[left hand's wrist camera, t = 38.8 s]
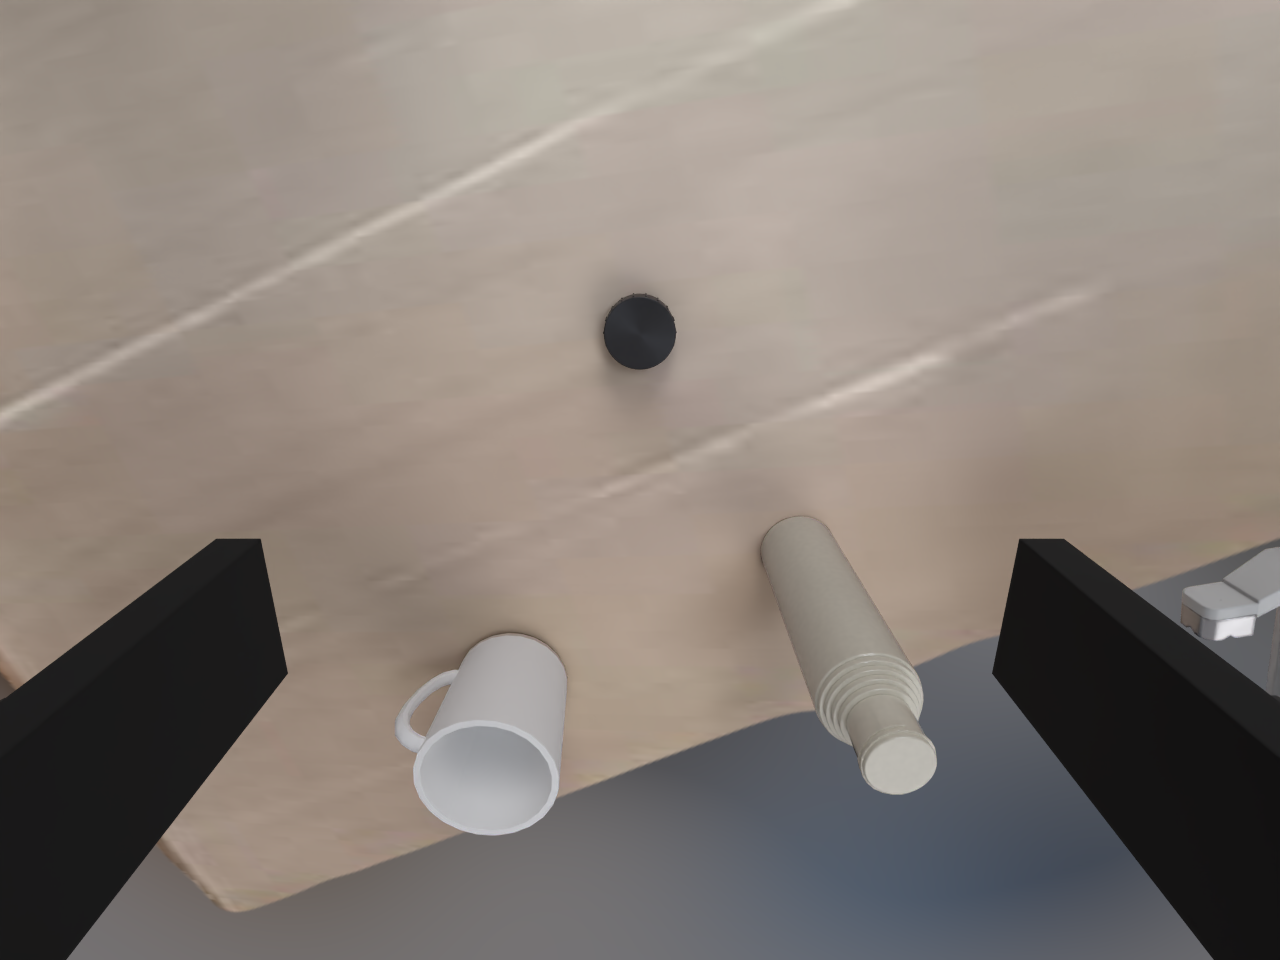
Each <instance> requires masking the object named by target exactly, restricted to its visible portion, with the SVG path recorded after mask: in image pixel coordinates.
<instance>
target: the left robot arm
mask: <svg viewBox="0 0 1280 960" xmlns="http://www.w3.org/2000/svg"><path fill="white" fill-rule="evenodd" d="M287 674H288V672H287V667H286V662H285V657H284V652H283V647H282V642H281V637H280V632H279V627H278V622H277V617H276V612H275V608H274V603H273V598H272V593H271V588H270V583H269V578H268V573H267V568H266V563H265V558H264V553H263V548H262V543H261V539H215V540H214V541H213V542H211V543H210V544H209V545H207V546H206V547H205V548H203V549H202V550H201V551H200V552H198V553H197V554H196V555H194V556H193V557H192V558H190V559H189V560H188V561H186V562H185V563H184V564H182V565H181V566H180V567H178V568H177V569H176V570H174V571H173V572H172V573H170V574H169V575H168V576H166V577H165V578H164V579H162V580H161V581H160V582H158V583H157V584H156V585H155V586H153V587H152V588H151V589H149V590H148V591H147V592H145V593H144V594H143V595H141V596H140V597H139V598H137V599H136V600H135V601H133V602H132V603H131V604H129V605H128V606H127V607H125V608H124V609H123V610H121V611H120V612H119V613H117V614H116V615H115V616H114V617H112V618H111V619H110V620H108V621H107V622H106V623H104V624H103V625H102V626H100V627H99V628H98V629H96V630H95V631H94V632H92V633H91V634H90V635H88V636H87V637H86V638H84V639H83V640H82V641H80V642H79V643H78V644H76V645H75V646H74V647H72V648H71V649H70V650H69V651H67V652H66V653H65V654H63V655H62V656H61V657H59V658H58V659H57V660H55V661H54V662H53V663H51V664H50V665H49V666H47V667H46V668H45V669H43V670H42V671H41V672H39V673H38V674H37V675H35V676H34V677H33V678H31V679H30V680H29V681H28V682H26V683H25V684H24V685H22V686H21V687H20V688H18V689H17V690H16V691H14V692H13V693H12V694H10V695H9V696H8V697H6V698H4V699H2V700H0V960H66V959H67V958H68V957H69V955H70V954H71V953H72V952H73V950H74V949H75V948H76V946H77V945H78V944H79V942H80V941H81V940H82V939H83V937H84V936H85V935H86V933H87V932H88V931H89V930H90V928H91V927H92V926H93V924H94V923H95V922H96V921H97V919H98V918H99V917H100V915H101V914H102V913H103V912H104V910H105V909H106V908H107V906H108V905H109V904H110V903H111V901H112V900H113V899H114V897H115V896H116V895H117V893H118V892H119V891H120V890H121V888H122V887H123V886H124V884H125V883H126V882H127V881H128V879H129V878H130V877H131V875H132V874H133V873H134V872H135V870H136V869H137V868H138V866H139V865H140V864H141V862H142V861H143V860H144V859H145V857H146V856H147V855H148V853H149V852H150V851H151V850H152V848H153V847H154V846H155V844H156V843H157V842H158V841H159V839H160V838H161V837H162V835H163V834H164V833H165V831H166V830H167V829H168V828H169V826H170V825H171V824H172V822H173V821H174V820H175V819H176V817H177V816H178V815H179V813H180V812H181V811H182V810H183V808H184V807H185V806H186V804H187V803H188V802H189V800H190V799H191V798H192V797H193V795H194V794H195V793H196V791H197V790H198V789H199V788H200V786H201V785H202V784H203V782H204V781H205V780H206V779H207V777H208V776H209V775H210V773H211V772H212V771H213V769H214V768H215V767H216V766H217V764H218V763H219V762H220V760H221V759H222V758H223V757H224V755H225V754H226V753H227V751H228V750H229V749H230V748H231V746H232V745H233V744H234V742H235V741H236V740H237V738H238V737H239V736H240V735H241V733H242V732H243V731H244V729H245V728H246V727H247V726H248V724H249V723H250V722H251V720H252V719H253V718H254V717H255V715H256V714H257V713H258V711H259V710H260V709H261V707H262V706H263V705H264V704H265V702H266V701H267V700H268V698H269V697H270V696H271V695H272V693H273V692H274V691H275V689H276V688H277V687H278V686H279V684H280V683H281V682H282V680H283V679H284V678H285V676H286V675H287ZM992 674H993V675H994V676H995V678H996V679H997V680H998V682H999V683H1000V684H1001V686H1002V687H1003V688H1004V689H1005V691H1006V692H1007V693H1008V695H1009V696H1010V697H1011V698H1012V700H1013V701H1014V702H1015V704H1016V705H1017V706H1018V707H1019V709H1020V710H1021V711H1022V713H1023V714H1024V715H1025V717H1026V718H1027V719H1028V720H1029V722H1030V723H1031V724H1032V725H1033V727H1034V728H1035V729H1036V731H1037V732H1038V733H1039V734H1040V736H1041V737H1042V738H1043V740H1044V741H1045V742H1046V744H1047V745H1048V746H1049V748H1050V749H1051V750H1052V751H1053V753H1054V754H1055V755H1056V757H1057V758H1058V759H1059V760H1060V762H1061V763H1062V764H1063V766H1064V767H1065V768H1066V769H1067V771H1068V772H1069V773H1070V775H1071V776H1072V777H1073V779H1074V780H1075V781H1076V782H1077V784H1078V785H1079V786H1080V788H1081V789H1082V790H1083V791H1084V793H1085V794H1086V795H1087V797H1088V798H1089V799H1090V800H1091V802H1092V803H1093V804H1094V806H1095V807H1096V808H1097V809H1098V811H1099V812H1100V813H1101V815H1102V816H1103V817H1104V819H1105V820H1106V821H1107V822H1108V824H1109V825H1110V826H1111V828H1112V829H1113V830H1114V831H1115V833H1116V834H1117V835H1118V837H1119V838H1120V839H1121V840H1122V842H1123V843H1124V844H1125V846H1126V847H1127V848H1128V850H1129V851H1130V852H1131V853H1132V855H1133V856H1134V857H1135V859H1136V860H1137V861H1138V862H1139V864H1140V865H1141V866H1142V868H1143V869H1144V870H1145V871H1146V873H1147V874H1148V875H1149V877H1150V878H1151V879H1152V881H1153V882H1154V883H1155V884H1156V886H1157V887H1158V888H1159V890H1160V891H1161V892H1162V893H1163V895H1164V896H1165V897H1166V899H1167V900H1168V901H1169V902H1170V904H1171V905H1172V906H1173V908H1174V909H1175V910H1176V911H1177V913H1178V914H1179V915H1180V917H1181V918H1182V919H1183V921H1184V922H1185V923H1186V924H1187V926H1188V927H1189V928H1190V930H1191V931H1192V932H1193V933H1194V935H1195V936H1196V937H1197V939H1198V940H1199V941H1200V943H1201V944H1202V945H1203V946H1204V948H1205V949H1206V950H1207V952H1208V953H1209V954H1210V955H1211V957H1212V958H1213V959H1214V960H1280V697H1278V696H1277V695H1270V694H1268V693H1267V692H1266V691H1264V690H1263V689H1262V688H1260V687H1259V686H1258V685H1256V684H1255V683H1254V682H1252V681H1251V680H1250V679H1249V678H1247V677H1246V676H1245V675H1243V674H1242V673H1241V672H1239V671H1238V670H1237V669H1235V668H1234V667H1233V666H1231V665H1230V664H1229V663H1227V662H1226V661H1225V660H1223V659H1222V658H1221V657H1219V656H1218V655H1217V654H1215V653H1214V652H1213V651H1211V650H1210V649H1209V648H1208V647H1206V646H1205V645H1204V644H1202V643H1201V642H1200V641H1198V640H1197V639H1196V638H1194V637H1193V636H1192V635H1190V634H1189V633H1188V632H1186V631H1185V630H1184V629H1182V628H1181V627H1180V626H1178V625H1177V624H1176V623H1174V622H1173V621H1172V620H1170V619H1169V618H1168V617H1166V616H1165V615H1164V614H1163V613H1161V612H1160V611H1159V610H1157V609H1156V608H1155V607H1153V606H1152V605H1150V604H1149V603H1148V602H1147V601H1145V600H1144V599H1143V598H1141V597H1140V596H1139V595H1137V594H1136V593H1135V592H1133V591H1132V590H1131V589H1129V588H1128V587H1127V586H1125V585H1124V584H1123V583H1122V582H1120V581H1119V580H1118V579H1116V578H1115V577H1114V576H1112V575H1111V574H1110V573H1108V572H1107V571H1106V570H1104V569H1103V568H1102V567H1100V566H1099V565H1098V564H1096V563H1095V562H1094V561H1092V560H1091V559H1090V558H1088V557H1087V556H1086V555H1084V554H1083V553H1082V552H1080V551H1079V550H1078V549H1077V548H1075V547H1074V546H1073V545H1071V544H1070V543H1069V542H1067V541H1066V540H1065V539H1019V543H1018V548H1017V553H1016V558H1015V563H1014V568H1013V573H1012V578H1011V583H1010V588H1009V593H1008V598H1007V603H1006V608H1005V612H1004V617H1003V622H1002V627H1001V632H1000V637H999V642H998V647H997V652H996V657H995V662H994V667H993V672H992Z"/></svg>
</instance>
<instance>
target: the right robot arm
mask: <svg viewBox="0 0 1280 960" xmlns="http://www.w3.org/2000/svg"><path fill="white" fill-rule="evenodd" d="M1275 608H1277V610H1276V618H1275V625H1274V632H1273V640H1272V647H1271V654H1270V662H1269V669H1268V676H1267V683H1266V692H1267V693H1268V694H1270V695H1277V696H1278V697H1280V547H1274V548H1268V549H1265V550H1263V551H1262V552H1260V553H1259V554H1257V555H1256V556H1255V557H1253V558H1252V559H1250V560H1249V561H1247V562H1246V563H1245V564H1243V565H1242V566H1240V567H1239V568H1237V569H1236V570H1235V571H1233V572H1232V573H1230V574H1229V575H1227V576H1226V577H1224V578H1223V581H1221V582H1215V583H1210V584H1203V585H1197V586H1191V587H1186V588H1185V589H1183V593H1182V609H1181V623H1182V624H1183V625H1184V626H1185V627H1191V629H1192V630H1193V632H1194V633H1195V634H1196V635H1197V636H1199V637H1201V638H1203V639H1206V640H1212V641H1219V640H1224V639H1226V638H1227V637H1229V636H1232V637H1235V638H1239V637H1245V636H1251V635H1253V632H1254V626H1255V620H1256V617H1257V618H1258V617H1260V616H1262V615H1263V614H1265V613H1267V612H1269V611H1271V610H1273V609H1275Z"/></svg>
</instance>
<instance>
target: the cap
mask: <svg viewBox="0 0 1280 960" xmlns="http://www.w3.org/2000/svg"><path fill="white" fill-rule="evenodd" d="M605 321H606V323H605V328H604V332H603V334H604V339H605V343H606V346H607V349H608V350H609V352H610V354H611V355H612V357H613V358H614V359H615V360H616V361H618V362H619V363H620V364H622V365H624V366H626V367H629V368H632V369H648V368H651V367H654V366H656V365H658V364H659V363H661V362H662V361H663V360H665V359H666V357H667V356H668V355H669V354H670V352H671V350H672V348H673V346H674V343H675V338H676V329H675V324H674V321H675V320H674V317H673V316H672V315H671V313H670V311H669V309H668V306H666V305H665V304H664V303H663V302H661V301H660V300H659V299H658V298H655V297H653V296H650V295H647V294H646V293H645V294H634V293H633V295H630V296H627V297H625V298H621V300H620V301H618V302H617V303H616V304H615V305H614V306H612V308H611V311H610V312H609V315H608V317H606V320H605Z"/></svg>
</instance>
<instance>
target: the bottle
mask: <svg viewBox="0 0 1280 960" xmlns="http://www.w3.org/2000/svg"><path fill="white" fill-rule="evenodd" d="M761 559H762V562H763V565H764V568H765V571H766V573H767V576H768V579H769V582H770V585H771V587H772V590H773V593H774V596H775V599H776V601H777V604H778V607H779V610H780V613H781V615H782V618H783V621H784V624H785V627H786V629H787V632H788V635H789V638H790V641H791V644H792V646H793V649H794V652H795V655H796V658H797V660H798V663H799V666H800V669H801V672H802V674H803V677H804V680H805V683H806V686H807V688H808V691H809V694H810V697H811V700H812V702H813V705H814V708H815V711H816V714H817V716H818V718H819V720H820V721H821V723H822V724H823V726H824V727H825V728H826V729H827V730H828V731H829V732H830V733H831V734H832V735H833V736H834V737H836V738H837V739H839V740H841V741H843V742H845V743H847V744H849V745H851V746H853V748H854V750H855V753H856V755H857V757H858V764H859V768H860V770H861V773H862V776H863V777H864V779H865V780H866V782H867V783H868V784H869V785H870V786H871V787H872V788H873V789H876V790H878V791H880V792H882V793H887V794H891V795H894V794H900V795H902V794H906V793H910V792H912V791H915V790H917V789H919V788H921V787H922V786H924V785H925V784H926V783H927V782H928V781H929V780H930V779H931V778H932V776H933V774H934V772H935V770H936V766H937V757H936V751H935V747H934V745H933V744H932V742H931V740H930V739H929V738H927V736H926V735H925V733H924V731H923V730H922V728H921V726H920V724H919V722H918V720H919V716H920V713H921V710H922V706H923V691H922V685H921V681H920V679H919V676H918V674H917V673H916V671H915V669H914V668H913V666H912V664H911V663H910V661H909V660H908V658H907V656H906V655H905V653H904V651H903V650H902V648H901V646H900V645H899V643H898V642H897V640H896V638H895V637H894V635H893V633H892V632H891V630H890V628H889V627H888V625H887V623H886V622H885V620H884V619H883V617H882V615H881V614H880V612H879V610H878V609H877V607H876V605H875V604H874V602H873V600H872V599H871V597H870V596H869V594H868V592H867V591H866V589H865V587H864V586H863V584H862V582H861V581H860V579H859V577H858V576H857V574H856V573H855V571H854V569H853V568H852V566H851V564H850V563H849V561H848V559H847V558H846V556H845V554H844V553H843V551H842V550H841V548H840V546H839V545H838V543H837V541H836V540H835V538H834V536H833V535H832V533H831V532H830V530H829V529H828V528H827V526H825V525H824V524H823V523H822V522H820V521H818V520H816V519H814V518H811V517H805V516H796V517H790V518H787V519H785V520H782V521H780V522H779V523H777V524H776V525H774V526H773V527H772V528H771V529H770V530H769V532H768V533H767V534H766V536H765V538H764V540H763V542H762V546H761Z"/></svg>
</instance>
